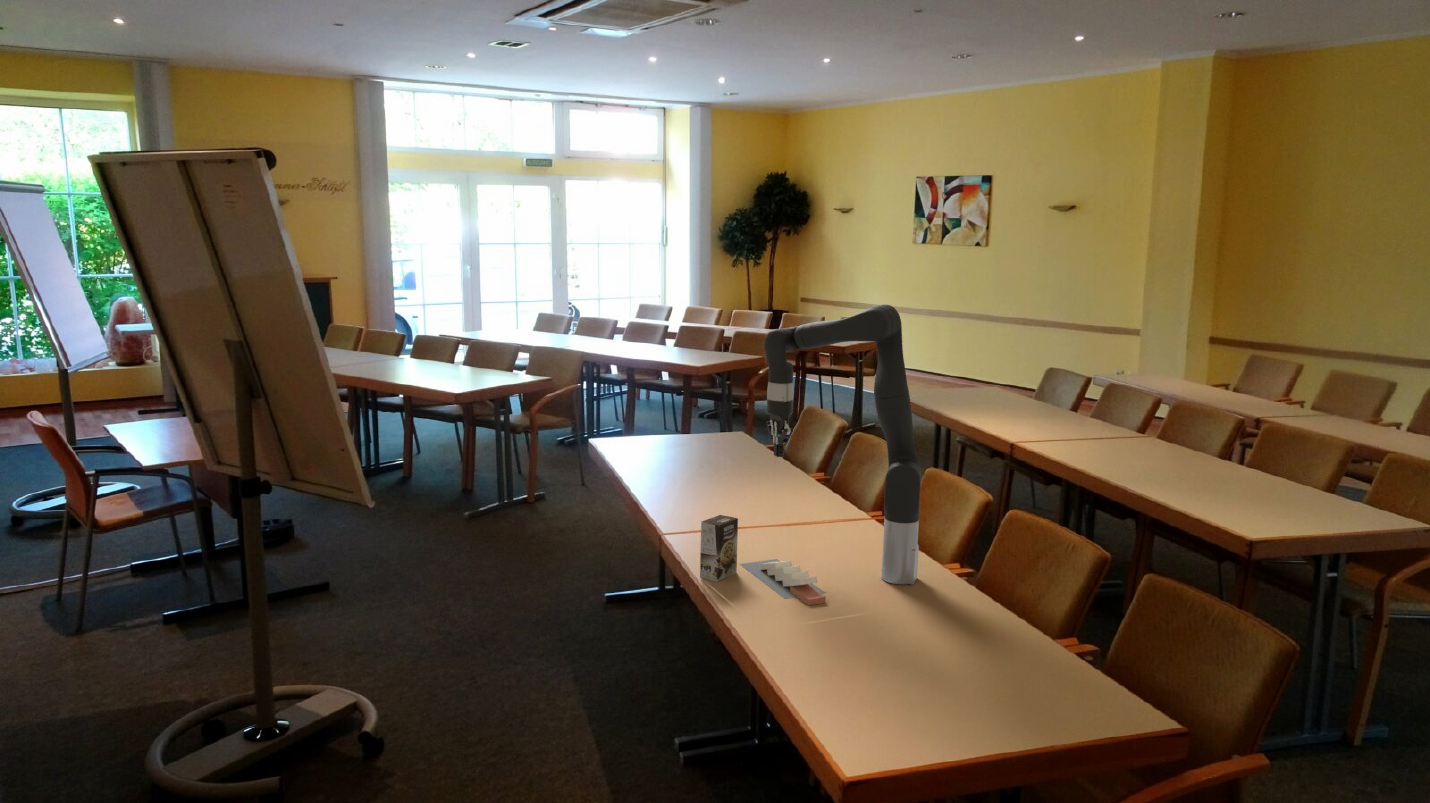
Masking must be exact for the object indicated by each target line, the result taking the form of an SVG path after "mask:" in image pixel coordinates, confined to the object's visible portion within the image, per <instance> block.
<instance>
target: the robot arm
mask: <svg viewBox="0 0 1430 803" xmlns="http://www.w3.org/2000/svg"><path fill="white" fill-rule="evenodd" d="M902 328H903V327H902V319H901V316H900V314H899V312H898V310H897V309H896V308H895V307H894V306H892V305H890V304H881V305H877V306H872V307H869V308H867V309H866V310H863V311H861V312H858V313H857V314H854V315H853V314H852V315H851V316H848V317H844V318H840V319H833V320H832V319H831V320H820V321H814V322H808V323H803V324H801V325H799V326H790V327H783V328H775V329H772V330H770V331H768V332H767V334H766V336H765V338H764V344H763V345H764V352H765V356H766V361H767V366H768V382H767V388H766V389H767V391H766V392H767V393H766V413H767V414H768V415H770V417H769V418H770V419H769V421H768V420H767V421H766V422H765V425H766V428H767V432H768V436H769V439H770V440H771V441H772V443H773V446H774V447H773V456H774V457H776V458H780V457H781V458H782V457H783V455H784V444H787V443H788V442H789V441H790V439H791V437H792V434H793V432H794V430H793V427H791V428H790V425H789V424H790V420H789V416H791V415H792V414H793V413H794V411H793V410H794V366H793V364H792V363H791V362H790V361H787V355H786V353H793V352H796V351H797V352H798V351H799V350H808V349H810V350H811V349H815V348H821V347H827V346H831V345H835V344H840V343H847V342H871V343H875V346H876V350H877V368H876V372H875V377H874V382H873V383H874V384H873V396H874V404H875V408H876V415H877V418H878V421H879V424H880V427H881V431H882V433H883V435H884V439H885V441H886V442H885V443H886V448H887V459H888V460H887V461H888V462H887V463H888V466H887V467H888V468H887V469H888V470H887V471H886V474H885V481H884V498H883V499H884V500H883V501H884V503H883V507H884V508H883V509H884V516H883V517H884V520H883V521H884V523H883V541H882V542H883V543H882V557H881V559H882V560H881V579H882V580H883V581H885V582H886V583H890V584H893V585H914V584H915V582H916V580H917V579H918V570H919V569H918V567H919V550H920V544H918V542H919V524H920V500H921V499H920V497H921V496H920V495H921V484H922V478H923V473H922V472H923V471H922V467H921V465H920V462H919V461H920V460H919V457H918V453H917V450H916V445H915V440H914V432H913V431H914V429H913V427H914V426H913V412H912V403H911V398H910V391H909V386H908V380H907V370H906V367H905V366H906V365H905V359H904V350H903V349H904V348H903V332H902V331H903V330H902Z"/></svg>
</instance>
